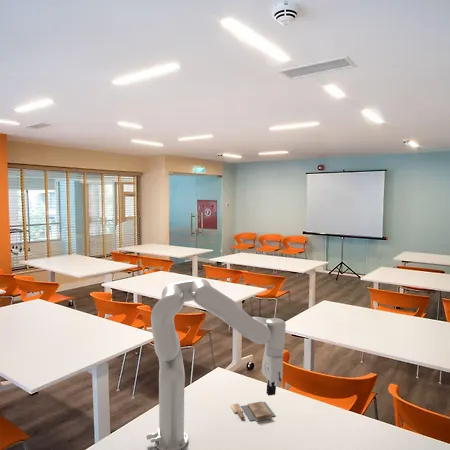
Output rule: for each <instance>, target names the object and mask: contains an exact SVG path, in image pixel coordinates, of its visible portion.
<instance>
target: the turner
mask: <svg viewBox="0 0 450 450" xmlns="http://www.w3.org/2000/svg"><path fill="white" fill-rule="evenodd" d="M229 407H230V409H231V410H232V412H233V413H234V414H237V415H238V417H239V418H240V420H241V421H242V420H245V419H246V418H245V416H246V415H244V413H243V412H244V411H243V409H242V408H241V406H240V404H239V403H234V404H230V405H229Z"/></svg>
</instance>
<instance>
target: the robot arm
mask: <svg viewBox="0 0 450 450" xmlns="http://www.w3.org/2000/svg"><path fill="white" fill-rule="evenodd" d="M187 302H195V304H196V305H198V306H199V307H200V308H202V309H204V310H205V311H207V312H209V313H210V314H212V315H214V316H215V317H217V318H219V319H220V320H222V321H223V322H224V323H225V324H227V325H228V326H229V327H231V328H232V329H234V330H235V332H236V331H237V332H238V333H239V334H241V335H242V337H245V338H246V339H247V340H249V341H251V342H253V343H254V344H257V345H264V352H263V357H262V363H261V373H262V374H263V375H264V377H265V378H266V383H267V384H266V395H268V396H276V392H277V391H276V389H277V387H280V382H282V380H283V375H284V371H283V370H284V359H283V357H284V354H285V353H284V351H285V341H286V340H285V339H286V338H285V337H286V327H287V326H286V325H287V324H286V322H285V320H283V319H282V318H277V317H272V318H271V317H270V318H269V317H268V318H267V317H261V316H251V315H250V314H248V313H247V312H246V311H245V310H244V309H243V308H242V307H241V306H240V305H239V304H238V302H236V301H235V300H233V299H232V298H231V297H229V296H227V295H226V294H224V293H223V292H221V291H219V290H218V289H216V288H215V287H214V286H212V285H211V284H210V282H209V281H208V279H207V280H206V279H205V278H204V279H203V278H198V279H197V278H196V279H190V280H185V281H179V282H173V283H170V284H167V285H166V286H165V287H164V288H163V289H162V292H161V298H160V299H158V301H157V302H156V303H155V304H154V306H153V307H152V310H151V314H150V325H151V330H152V331H151V332H152V338H153V342H154V343H153V344H154V346H153V347H154V352H155V354H156V356H157V357H158V358H157V359H158V364H159V372H158V405H159V407H158V411H159V412H158V414H159V415H158V423H159V424H158V428H157V431H154V432H152V433H147V434H146V440H150V444H151V443H154V445H155V447H156V448H157V449H158V450H182V449H184V448H185V447H186V446H187V444H188V440H189V435H188V434H187V432H185V384H186V374H185V367H184V360H183V359H184V358H183V354H182V347H181V343H180V342H181V341H180V337H179V334H178V332H177V331H176V325H175V324H176V323H175V317H176V315H177V314H178V313H179V312H180V311H181V310H182V309H183V307H184V304H185V303H187Z"/></svg>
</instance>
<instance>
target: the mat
mask: <svg viewBox="0 0 450 450" xmlns="http://www.w3.org/2000/svg"><path fill="white" fill-rule="evenodd" d="M262 402H263V403H264V405H265V406H266V407H267V409H268V410H269V411H270V413H271V414H272V416H271V418H273V417H276V414H275V412H273V410H272V409H271V408H270V406H269V405H268V404H267V402H266V401H262ZM240 407H241V409H242V410H243V412H244V413H243V414H245V416H246V418H247V419H248V420H249V422H253V421H256V420H255V418H254V417H253V415H252V414H251V412H250V410H249V409H248V404H244V405H241V406H240Z"/></svg>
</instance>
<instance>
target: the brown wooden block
mask: <svg viewBox="0 0 450 450" xmlns="http://www.w3.org/2000/svg"><path fill="white" fill-rule="evenodd" d="M263 402H264V401H256V402H250V403H248V404H247V405H248V409H249V410H250V412H251V414H252V415H253V417H254V418H255V420H254V421H256V422H257V421H263V420H268V419H272V417H271V416H272V414H271V413H270V411H269V410H268V409H267V407H266V406H265V405H264V403H263Z"/></svg>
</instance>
